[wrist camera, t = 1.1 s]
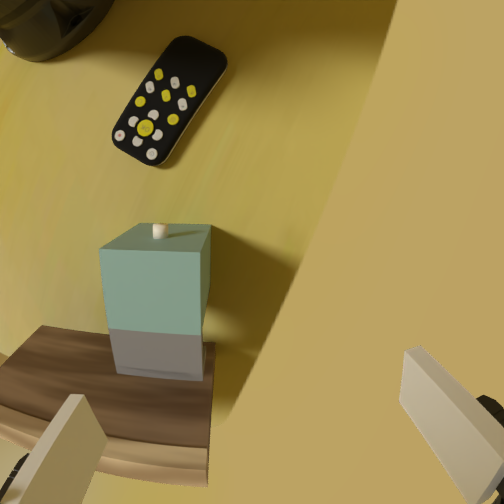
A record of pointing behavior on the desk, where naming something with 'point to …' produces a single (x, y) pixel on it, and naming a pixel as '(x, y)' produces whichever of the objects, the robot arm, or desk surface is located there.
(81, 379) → the wall board
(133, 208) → the desk surface
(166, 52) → the remote control
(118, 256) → the cabinet
